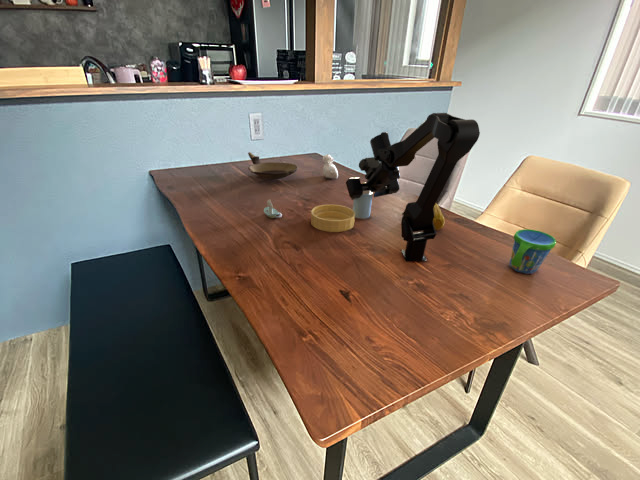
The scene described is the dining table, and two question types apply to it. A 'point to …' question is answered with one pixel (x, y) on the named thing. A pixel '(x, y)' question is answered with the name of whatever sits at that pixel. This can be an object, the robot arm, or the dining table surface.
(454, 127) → the robot arm
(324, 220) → the bowl
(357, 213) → the baby bottle
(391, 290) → the dining table surface
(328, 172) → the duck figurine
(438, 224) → the food
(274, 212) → the pacifier
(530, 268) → the snack cup
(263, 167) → the oil lamp
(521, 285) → the dining table surface
